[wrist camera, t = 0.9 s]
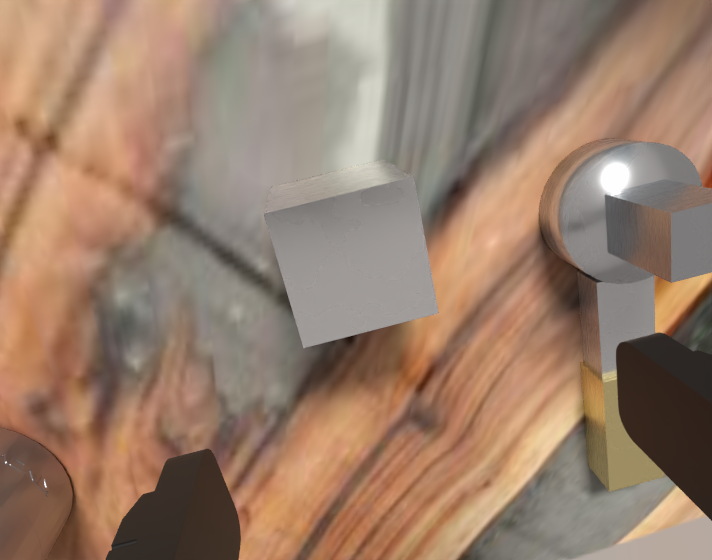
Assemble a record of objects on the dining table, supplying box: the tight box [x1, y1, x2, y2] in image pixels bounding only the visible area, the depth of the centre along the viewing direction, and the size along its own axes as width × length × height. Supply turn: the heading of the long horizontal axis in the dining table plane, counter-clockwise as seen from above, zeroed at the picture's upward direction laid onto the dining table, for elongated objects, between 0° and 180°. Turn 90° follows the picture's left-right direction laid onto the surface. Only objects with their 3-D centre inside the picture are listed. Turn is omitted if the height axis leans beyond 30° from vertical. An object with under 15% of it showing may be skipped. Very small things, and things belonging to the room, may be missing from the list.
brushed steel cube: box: [264, 159, 439, 348], centre depth 23 cm, size 6×6×7 cm
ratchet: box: [539, 139, 712, 492], centre depth 26 cm, size 21×7×8 cm, turn 13°
